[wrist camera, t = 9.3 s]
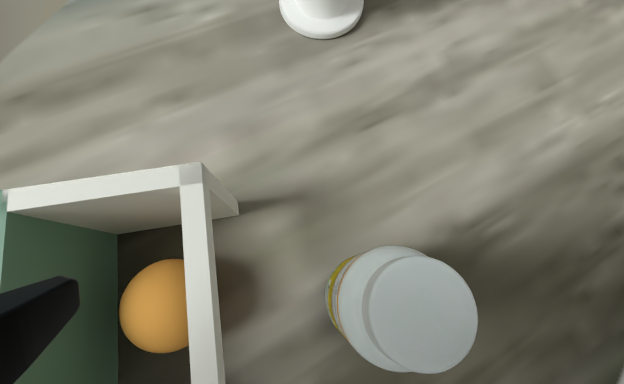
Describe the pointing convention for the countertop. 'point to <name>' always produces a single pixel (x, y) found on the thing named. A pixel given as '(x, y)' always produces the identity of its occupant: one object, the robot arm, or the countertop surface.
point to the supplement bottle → (403, 310)
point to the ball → (156, 308)
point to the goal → (113, 261)
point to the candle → (321, 16)
